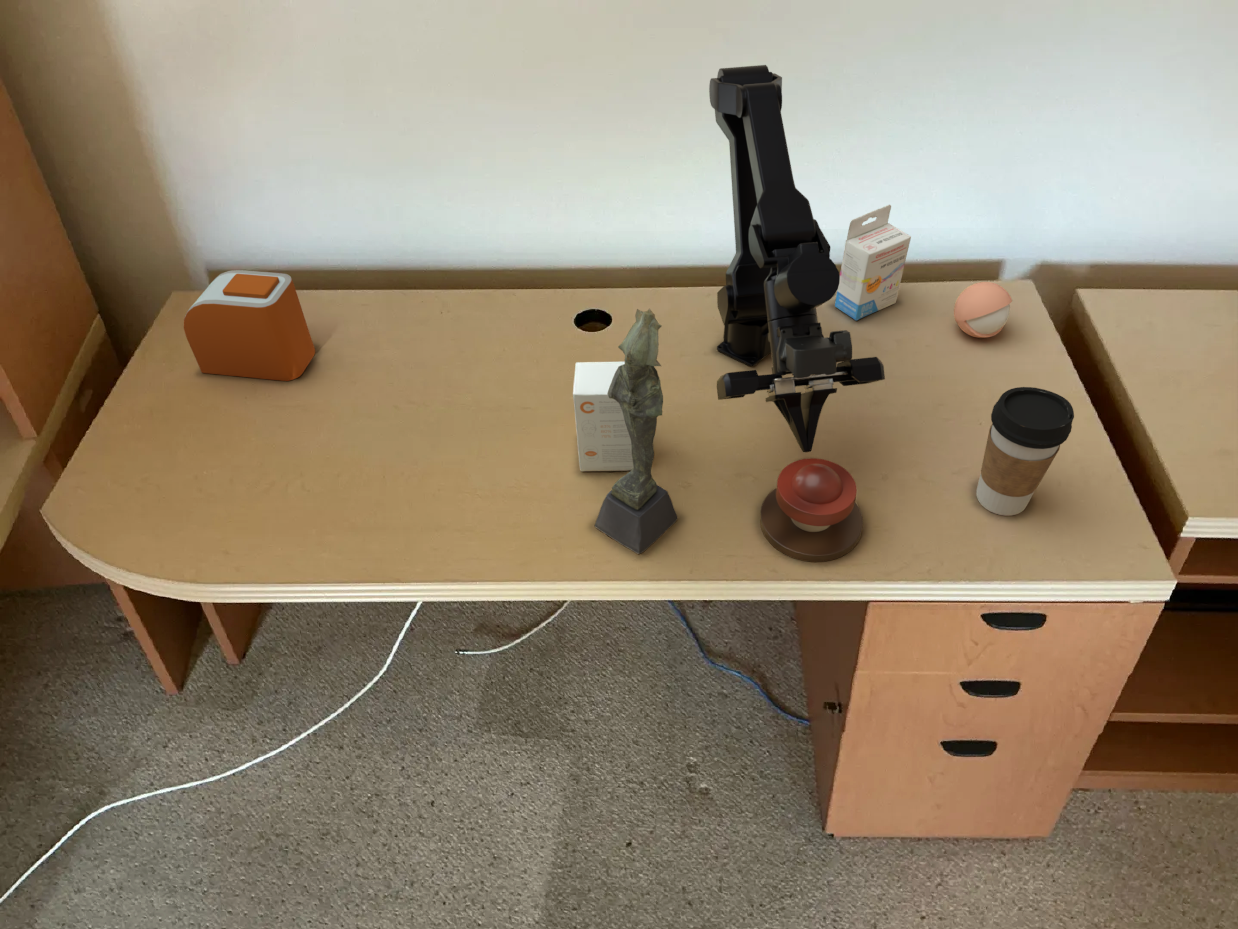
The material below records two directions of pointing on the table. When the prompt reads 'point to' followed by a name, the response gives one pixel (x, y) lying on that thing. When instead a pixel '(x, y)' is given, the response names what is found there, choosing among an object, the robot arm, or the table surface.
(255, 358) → the alarm clock
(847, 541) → the toy mushroom
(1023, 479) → the coffee cup
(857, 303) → the ink box
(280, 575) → the table surface
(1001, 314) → the toy ball
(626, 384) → the statue
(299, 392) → the table surface
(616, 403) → the small box
